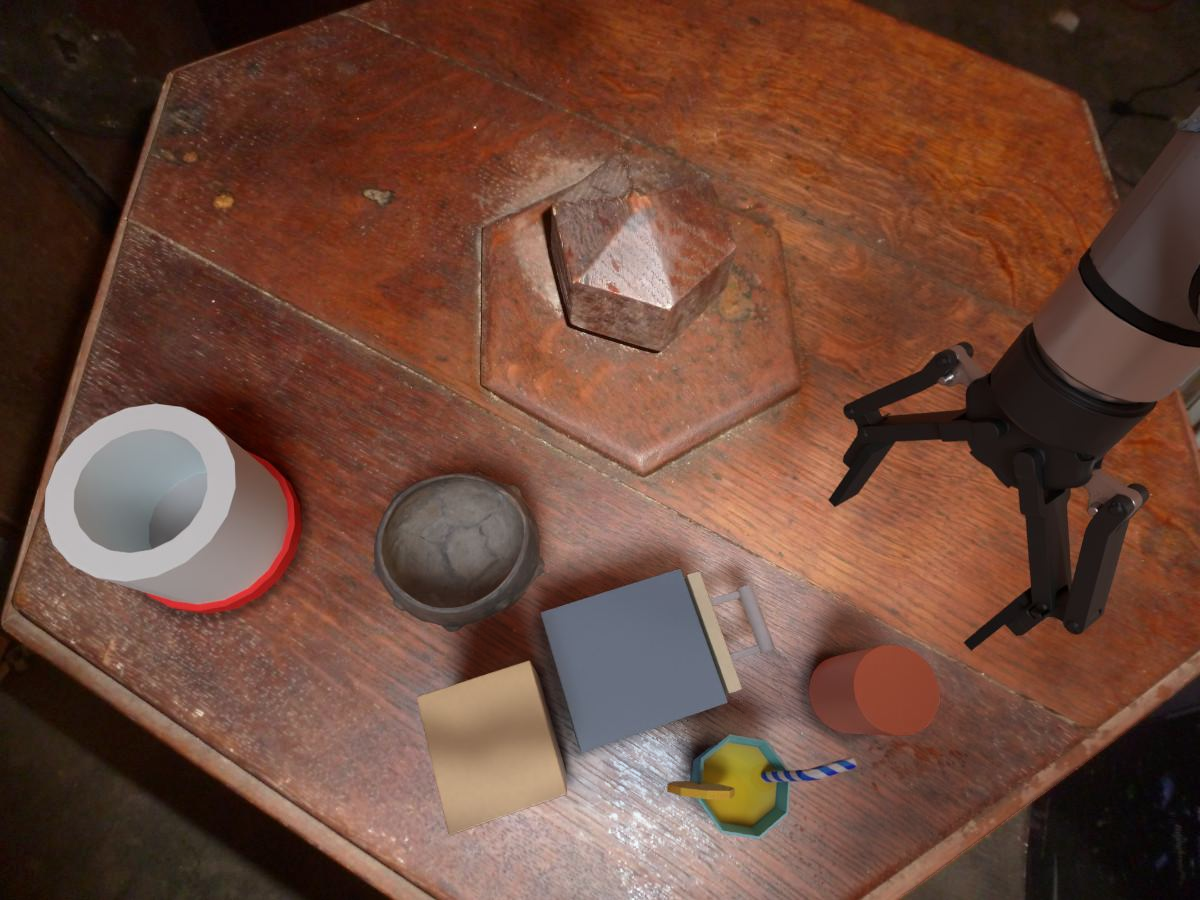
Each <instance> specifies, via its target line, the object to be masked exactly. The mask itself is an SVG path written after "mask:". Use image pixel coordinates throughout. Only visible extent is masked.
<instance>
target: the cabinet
mask: <svg viewBox="0 0 1200 900" xmlns="http://www.w3.org/2000/svg"><path fill="white" fill-rule="evenodd" d="M684 578H685V577H684V574H683V571H682V569H681V568H680V567H679V568H676V569H674V570H670V571H667V572H664V573H661V574H658V575H655V576H652V577H648V578H645V579H642V580H638V581H635V582H632V583H629V584H625V585H622V586H619V587H617V588H613V589H610V590H607V591H604V592H600V593H598V594H594V595H591V596H588V597H587V596H586V597H584V598H581V599H578V600H575V601H571V602H568V603H566V604H562V605H559V606H556V607H552V608H550V609H546V610H543V611H540V617H541V621H542V625H543V629H544V633H545V636H546V639H547V643H548V646H549V650H550V654H551V657H552V660H553V664H554V667H555V671H556V674H557V679H558V682H559V685H560V688H561V692H562V696H563V699H564V701H565V702H564V703H565V705H566V709H567V713H568V715H569V720H570V722H571V726H572V730H573V733H574V736H575V739H576V743H577V746H578V749H579V751H580V753H581V754H583V753H586V752H590V751H591V750H592V751H593V750H594V749H597V748H601V747H603V746H606V745H610V744H612V743H615V742H618V741H620V740H623V739H627V738H629V737H633V736H636V735H638V734H641V733H644V732H647V731H650V730H652V729H655V728H658V727H661V726H665V725H667V724H670V723H674V722H676V721H679V720H681V719H685V718H688V717H691V716H694V715H697V714H699V713H702V712H705V711H708V710H710V709H713V708H717V707H719V706H722V705H726V704H728V703H729V701H728V698H727V696H726V695H727V694H725V693H724V690H723V687H722V684H721V681H720V678H719V676H718V673H717V670H716V667H715V664H714V661H713V659H712V656H711V653H710V650H709V647H708V644H707V642H706V639H705V636H704V633H703V630H702V627H701V625H700V622H699V619H698V616H697V613H696V611H695V608H694V605H693V602H692V599H691V596H690V594H689V591H688V588H687V585H686V582H685V579H684Z"/></svg>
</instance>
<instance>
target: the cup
mask: <svg viewBox="0 0 1200 900" xmlns="http://www.w3.org/2000/svg"><path fill="white" fill-rule="evenodd" d="M692 761H693V762H692V770H691V778H690V779H691V781H688V780H687V781H686V780H685V781H683V780H680V781H679V780H673V781H671V782H668V783H667V786H666V787H667V789H666V792H667V793H669V794H672V795H677V796H679V797H687V798H693V799H694V798H696V800H697V801H698V803H699V805H700V806H701V807H702V809H703V810H704V812H705V813H706V815H707V816H708V817H709V818H710V820H711V821H712V823H713V824H714V825H715V827H716V829H717V830H718V832H720V834H725V835H729V836H730V835H731V836H737V837H744V838H749V839H755V840H760V839H762V838H763V837H764V836H765V835H766V834H768V832H770V831H771V830H772V829H773V828H774V827H775V826H776V825H778V824H779V823H780V822H781V821H782V820H783V819H784V818H785V817H787V816H788V815H789V811H790V810H789V808H790V796H791V795H790V794H791V793H790V791H791V783H794V782H795V783H796V782H797V783H799V782H801V783H802V782H812V781H820V780H823V779H827V778H829V777H832V776H833V777H834V776H835V775H838V774H841V773H844V772H847V771H851V770H854V769H856V768H857V761H856V760H855V758H854V757H852V756H849V757H846V758H843V759H839V760H835V761H832V762H828V763H825V764H821V765H818V766H814V767H811V768H805V769H791V770H789V768H788V767H787V765H786V764H785V763H784V761H783V760H782V759H781V757H780V756H779V755H778V753H777V752H776V751H775V750H774V748H773V746H771V744H770V742H769V741H768V740H766V739H760V738H754V737H749V736H742V735H735V734H728V735H727V736H725V738H723V739H722V740H720V741H719V742H718V743H714V744H712V745H710V746H709V747H708V748H707V749H705V750H703V752H701V753H700V754H699V755H698V756H697V757H696V758H694V759H693V760H692Z"/></svg>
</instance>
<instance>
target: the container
mask: <svg viewBox="0 0 1200 900" xmlns="http://www.w3.org/2000/svg"><path fill="white" fill-rule="evenodd" d="M44 492H45V495H44V517H43V519H44V522H45V525H46V528H47V531H48V534H49V537H50V540H51V544H52V545H53V547H54V548H55V549H56V550H57V551H58V552H59V554H61V556H62V557H63V558H64V559H65V560H66V562H67V563H68V564H69V565H71V566H72V567H74V568H76V569H78V570H79V571H82V572H83V573H86V574H88V575H89V576H92V577H93V578H95V579H98V580H102V581H104V582H105V581H106V582H109V583H111V584H115V585H119V586H122V587H126V588H129V589H132V590H134V591H135V590H136V591H139V592H142V593H145V595H147V596H148V597H149V598H151V599H153V600H155V601H158V602H159V603H162V604H163V605H165V606H167V607H169V608H172V609H175V610H178V611H182V612H189V613H197V614H205V615H210V614H217V613H220V612H226V611H232V610H237V609H238V608H240V607H242V606H244V605H246V604H248V603H250V602H252V601H254V600H256V599H259V598H260V597H262V595H264V594H265V593H266V592H267V591H268V590H269V589H270V588H271V587H273V586H274V585H275V584H276V583H277V582H279V580H281V578H282V577H283V575H284V574H285V572H286V571H287V569H288V567H289V566H290V564H291V563H292V561H293V559H294V558H295V556H296V553H297V551H298V546H299V542H300V538H301V535H302V531H303V527H302V525H303V524H302V513H301V504H300V501H299V499H298V497H297V495H296V492H295V490H294V488H293V486H292V484H291V482H290V481H289V480H288V479H287V478H286V477H285V476H284V475H283V474H282V473H281V472H280V471H279V470H278V469H277V468H276V466H274V465H273V464H271V462H269V461H268V460H266V459H265V458H262V457H260V456H258V455H256V454H254V453H252V452H250V451H248V450H245V449H243V447H241V446H240V445H239V444H238V443H237V442H235V440H233V439H232V438H230V437H229V436H228V435H227V434H226V433H224V432H223V431H222V430H221V429H220V428H219V427H218V426H216V425H215V424H214V423H212V422H211V421H210V420H209V419H208V418H206V417H204V416H202V415H200V414H197V413H196V412H194V411H191V410H190V409H188V408H186V407H183V406H175V405H168V404H160V403H152V404H144V405H139V406H130V407H125V408H124V409H121V410H120V411H119V410H118V411H116V412H115V413H112V414H110V415H107V416H105V417H103V418H100V419H98V420H96V422H94V423H93V424H91V426H89V427H88V428H87V429H85V430H84V431H82V433H80V434H79V435H78V436H76V437H75V438H74V439H73V440H72V442H71V443H70V444H69V445H68V446H67V448H66V449H65V451H64V452H63V453H62V455H61V456H60V458H58V460H57V461H56V462H55V465H54V468H53V470H52V473H51V475H50V478H49V481H48V483H47V486H46V489H45V491H44Z"/></svg>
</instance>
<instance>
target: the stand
mask: <svg viewBox="0 0 1200 900" xmlns="http://www.w3.org/2000/svg"><path fill="white" fill-rule="evenodd" d="M416 701H417V705H418V710H419V713H420V719H421V722H422V726H423V731H424V735H425V739H426V744H427V748H428V753H429V758H430V761H431V765H432V771H433V775H434V778H435V782H436V783H435V784H436V788H437V791H438V795H439V800H440V804H441V808H442V809H441V810H442V812H443V818H444V821H445V825H446V829H447V834H448V836H453V835H456V834H458V833H462V832H464V831H467V830H471V829H474V828H476V827H479V826H481V825H485V824H487V823H490V822H492V821H496V820H499V819H501V818H505V817H507V816H510V815H513V814H515V813H519V812H521V811H524V810H527V809H529V808H530V809H531V808H533V807H535V806H538V805H541V804H544V803H547V802H550V801H553V800H556V799H559V798H561V797H565V796H566V795H567V794H568V783H567V782H568V780H567V777H568V776H567V770H566V767H565V764H564V763H565V762H564V760H563V756H562V753H561V749H560V745H559V742H558V739H557V735H556V731H555V727H554V724H553V722H552V717H551V714H550V710H549V707H548V702H547V700H546V697H545V692H544V689H543V686H542V683H541V679H540V676H539V674H538V672H537V671H536V668H535V667H534V665H533V664H532V662H531V660H526V661H523V662H519V663H516V664H513V665H510V666H506V667H504V668H499V669H498V670H494V671H492V672H488V673H485V674H482V675H479V676H476V677H472V678H470V679H467V680H466V679H465V680H463V681H461V682H457V683H455V684H451V685H448V686H445V687H442V688H439V689H436V690H433V691H429V692H426V693H423V694H420V695H418V696H416Z"/></svg>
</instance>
